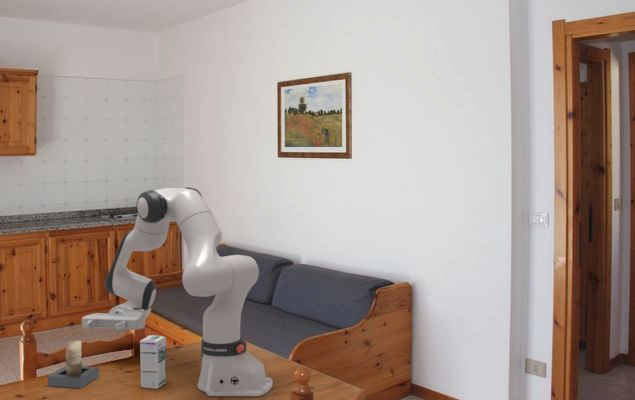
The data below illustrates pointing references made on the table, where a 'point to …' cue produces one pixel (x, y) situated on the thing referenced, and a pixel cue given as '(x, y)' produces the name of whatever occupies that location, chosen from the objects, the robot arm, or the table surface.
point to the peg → (73, 358)
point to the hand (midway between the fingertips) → (101, 327)
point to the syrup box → (153, 361)
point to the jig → (73, 378)
